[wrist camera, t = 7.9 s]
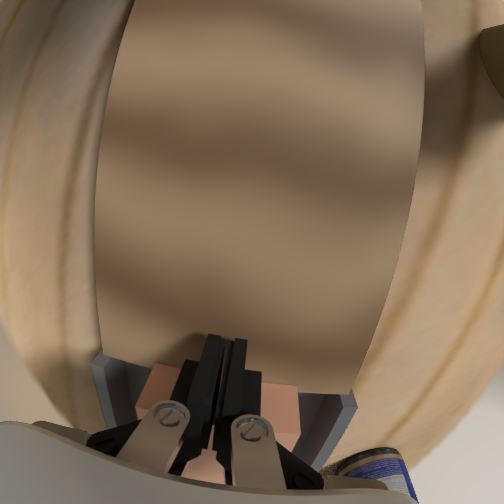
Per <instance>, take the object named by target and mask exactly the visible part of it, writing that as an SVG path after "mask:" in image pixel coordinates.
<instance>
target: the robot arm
mask: <svg viewBox="0 0 504 504" xmlns="http://www.w3.org/2000/svg"><path fill="white" fill-rule="evenodd" d="M225 342H226V340H225V339H221V335H215V334H210V333H209V334H208V336H207V339H206V342H205V345H204V348H203V351H202V355H201V358H200V361H199V362H198V361H193V360H188V359H186V360H185V361H184V363H183V366H182V368H181V371H180V374H179V376H178V379H177V381H176V384H175V386H174V389H173V391H172V394H171V397H170V399H169V400H164V401H159V402H157V403H155V404H154V405H153V406H152V407H151V408H150V409H149V410H148V412H147V413H146V415H145V416H144V418H143V419H140V420H137V421H134V422H131V423H128V424H124V425H121V426H118V427H114V428H111V429H107V430H104V431H100V432H97V433H95V434H93V435H91V434H88V433H87V431H83V430H78V429H74V428H70V427H65V426H61V425H57V424H54V423H50V422H46V421H37V422H34V423H33V424H27V423H21V422H15V421H5V422H0V504H418V503H417V501H415V500H414V499H413V498H412V497H410V496H408V495H406V494H403V493H399V492H395V491H391V490H388V487H387V486H386V484H385V483H383V482H381V481H379V480H375V479H363V478H353V477H344V476H336V475H329V476H328V477H327V476H321V475H320V474H319V473H318V472H317V471H316V470H314V469H313V468H312V467H310V466H309V465H307V464H306V463H305V462H303V461H302V460H301V459H299V458H298V457H297V456H295V455H294V454H293V453H291V452H290V451H289V450H287V449H286V448H285V447H284V446H282V445H281V444H280V443H278V442H277V441H276V439H275V435H274V430H273V427H272V425H271V424H270V423H269V421H268V420H266V419H265V418H263V417H261V383H262V372H261V371H253V370H246V369H245V362H246V353H247V343H248V340H247V339H240V338H235V341H231V340H230V341H229V346H228V351H227V356H226V361H225V366H224V371H223V376H222V381H221V374H222V366H223V358H224V350H225ZM220 382H221V386H220ZM219 389H220V391H219ZM218 395H219V396H218ZM217 400H218V401H217ZM216 405H217V408H216ZM215 410H216V416H215V425H214V434H213V443H212V451H217V454H216V460H217V461H218V462H219V463H220V464H221V465H222V466H223V467H224V469H223V475H224V484H218V483H212V482H206V481H200V480H195V479H190V478H185V477H184V475H185V473H186V471H187V469H188V466H189V463H190V460H192V459H195V458H197V457H199V455H200V456H201V453H202V449H206V450H207V449H208V445H209V440H210V435H211V430H212V425H213V420H214V415H215Z"/></svg>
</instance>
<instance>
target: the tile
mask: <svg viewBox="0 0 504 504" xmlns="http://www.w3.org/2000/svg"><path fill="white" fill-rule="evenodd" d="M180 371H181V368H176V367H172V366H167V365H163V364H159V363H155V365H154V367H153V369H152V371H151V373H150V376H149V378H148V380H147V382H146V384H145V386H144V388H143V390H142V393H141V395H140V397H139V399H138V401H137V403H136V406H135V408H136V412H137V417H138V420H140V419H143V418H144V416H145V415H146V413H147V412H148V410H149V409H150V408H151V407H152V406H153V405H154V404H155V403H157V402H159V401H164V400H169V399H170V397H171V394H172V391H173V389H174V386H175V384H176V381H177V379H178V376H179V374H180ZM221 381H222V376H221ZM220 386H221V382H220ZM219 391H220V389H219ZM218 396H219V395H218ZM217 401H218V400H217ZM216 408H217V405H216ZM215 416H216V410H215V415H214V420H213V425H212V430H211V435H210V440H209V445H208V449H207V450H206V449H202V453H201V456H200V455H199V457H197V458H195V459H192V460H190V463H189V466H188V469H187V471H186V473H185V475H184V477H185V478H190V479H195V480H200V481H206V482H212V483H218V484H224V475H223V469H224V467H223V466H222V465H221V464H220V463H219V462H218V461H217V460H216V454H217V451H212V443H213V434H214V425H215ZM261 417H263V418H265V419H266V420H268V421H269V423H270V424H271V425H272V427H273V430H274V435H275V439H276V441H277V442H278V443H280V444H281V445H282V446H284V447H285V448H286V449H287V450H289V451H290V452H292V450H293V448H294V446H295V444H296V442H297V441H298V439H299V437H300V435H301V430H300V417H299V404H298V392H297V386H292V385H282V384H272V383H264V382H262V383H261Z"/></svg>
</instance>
